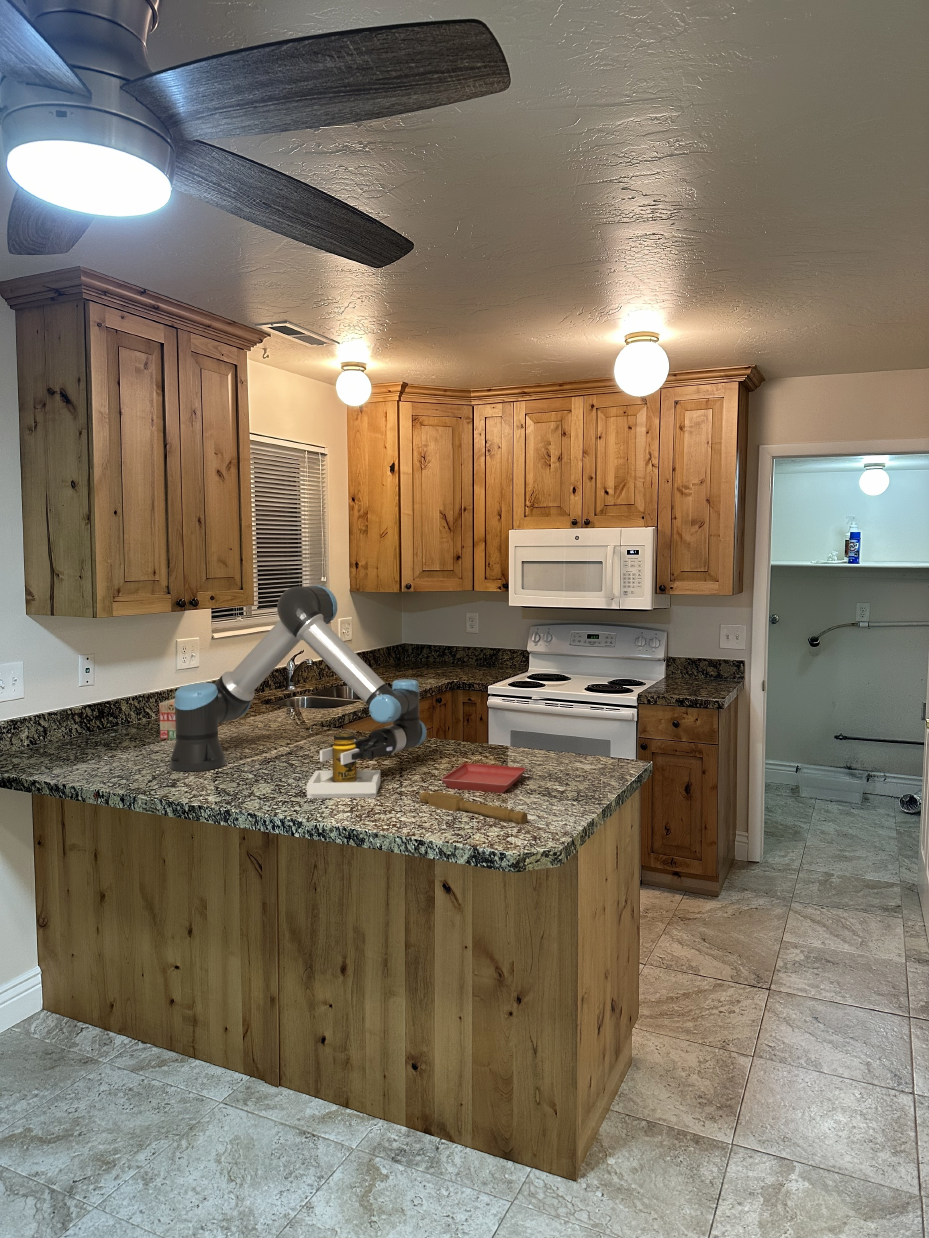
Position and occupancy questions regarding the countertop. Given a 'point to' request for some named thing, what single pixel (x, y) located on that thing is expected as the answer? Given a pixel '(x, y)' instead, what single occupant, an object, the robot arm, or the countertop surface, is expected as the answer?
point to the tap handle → (472, 807)
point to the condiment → (340, 772)
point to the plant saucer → (483, 777)
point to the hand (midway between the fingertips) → (331, 757)
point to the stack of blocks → (167, 719)
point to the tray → (344, 785)
